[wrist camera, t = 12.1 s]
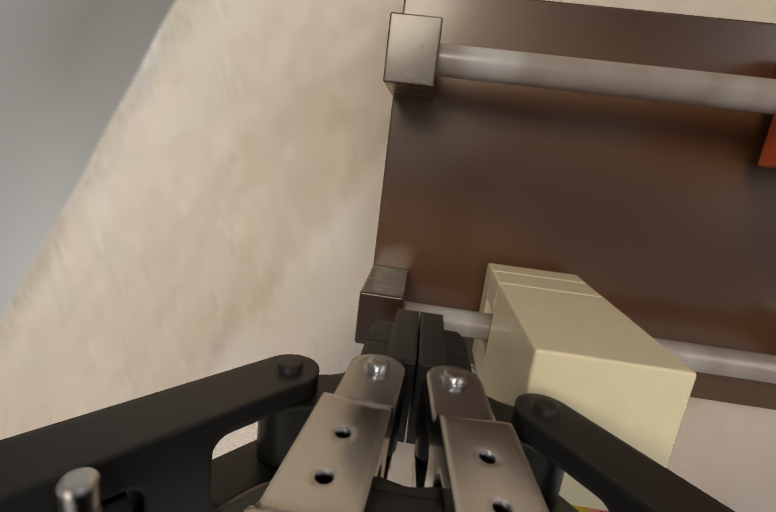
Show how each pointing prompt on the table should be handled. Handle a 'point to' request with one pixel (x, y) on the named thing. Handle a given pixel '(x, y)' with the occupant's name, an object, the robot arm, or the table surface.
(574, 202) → the score board
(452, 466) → the robot arm
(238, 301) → the table surface
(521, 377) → the block
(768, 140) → the block
